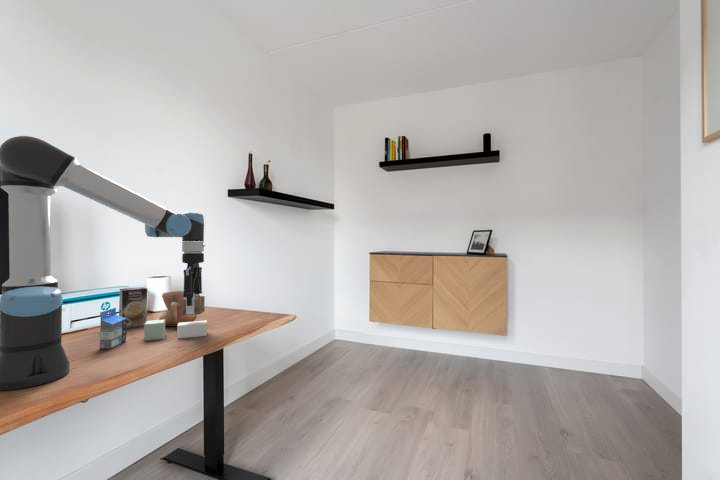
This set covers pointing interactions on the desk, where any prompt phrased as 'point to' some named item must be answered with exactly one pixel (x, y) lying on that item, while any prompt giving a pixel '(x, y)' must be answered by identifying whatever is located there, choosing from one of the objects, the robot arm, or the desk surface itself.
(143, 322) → the coffee box
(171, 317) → the ceramic jug
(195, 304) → the walnut cube
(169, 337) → the desk surface
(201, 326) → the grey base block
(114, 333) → the label tape cartridge
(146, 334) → the sage cube
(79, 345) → the desk surface
